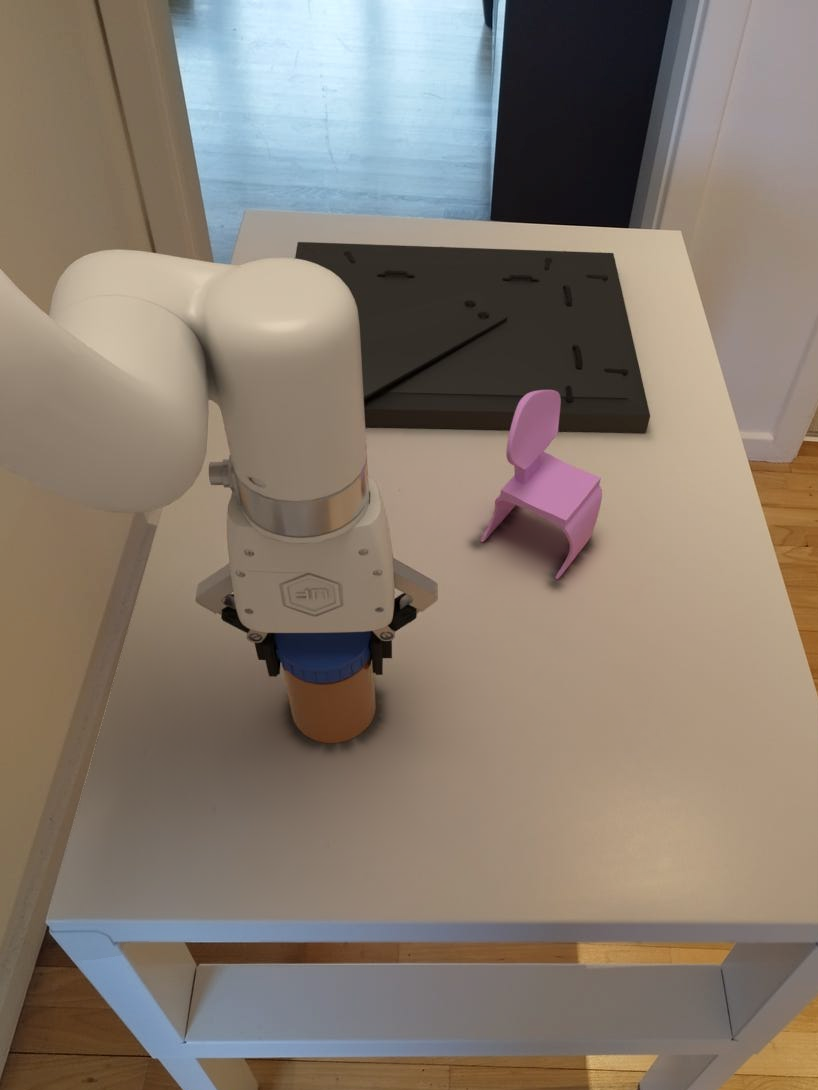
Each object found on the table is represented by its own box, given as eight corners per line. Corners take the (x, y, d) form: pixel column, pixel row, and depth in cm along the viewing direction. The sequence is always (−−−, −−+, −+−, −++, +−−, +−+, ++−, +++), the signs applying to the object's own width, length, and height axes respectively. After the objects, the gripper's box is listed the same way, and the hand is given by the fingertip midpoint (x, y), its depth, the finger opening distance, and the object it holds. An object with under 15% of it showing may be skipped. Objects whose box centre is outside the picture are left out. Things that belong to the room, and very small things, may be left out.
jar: (289, 744, 70) (273, 674, 62) (294, 674, 74) (280, 600, 66) (375, 742, 70) (370, 672, 63) (376, 672, 74) (371, 599, 67)
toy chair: (557, 589, 81) (581, 461, 69) (473, 547, 83) (483, 417, 71) (600, 533, 85) (630, 404, 73) (519, 495, 88) (535, 364, 76)
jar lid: (384, 671, 64) (383, 657, 63) (285, 693, 63) (282, 679, 61) (361, 598, 68) (360, 583, 67) (268, 617, 67) (265, 602, 65)
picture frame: (273, 424, 92) (645, 433, 94) (268, 395, 89) (653, 405, 92) (299, 259, 110) (610, 270, 113) (296, 230, 108) (615, 242, 110)
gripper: (139, 527, 50) (200, 705, 64) (455, 526, 51) (447, 700, 65) (160, 436, 54) (213, 621, 69) (450, 437, 56) (443, 618, 70)
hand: (327, 658), depth 67 cm, fingers closed on jar lid, 6 cm apart
